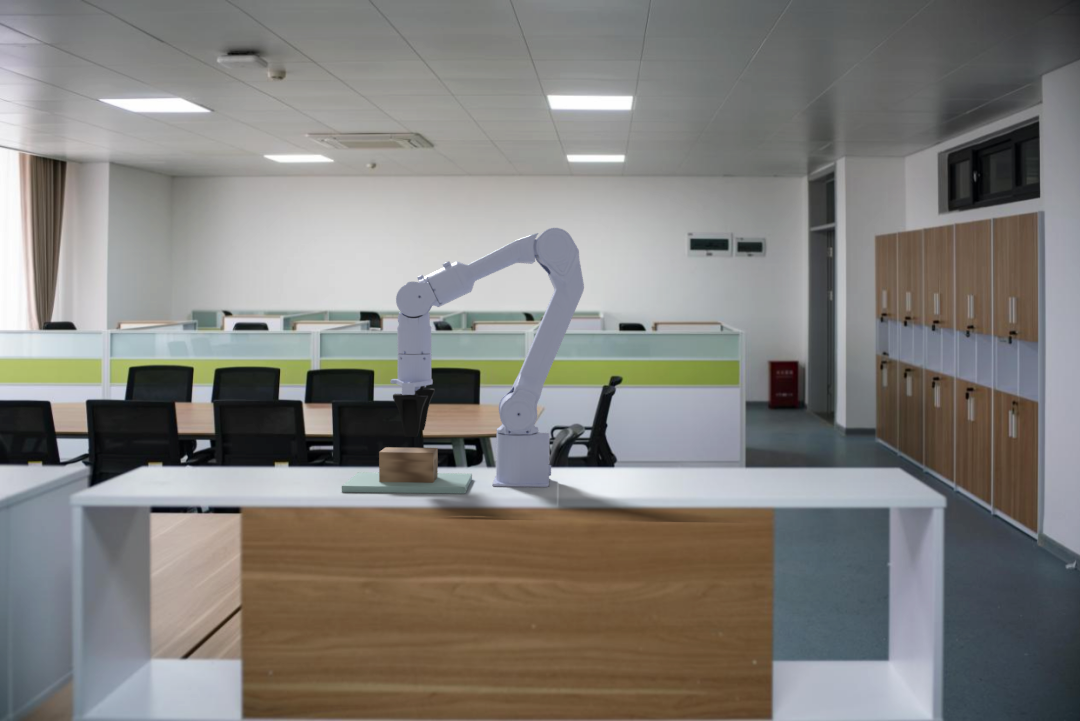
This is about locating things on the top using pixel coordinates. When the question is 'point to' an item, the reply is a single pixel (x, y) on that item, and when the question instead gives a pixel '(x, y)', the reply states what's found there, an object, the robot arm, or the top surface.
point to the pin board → (408, 484)
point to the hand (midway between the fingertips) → (414, 433)
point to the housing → (408, 465)
